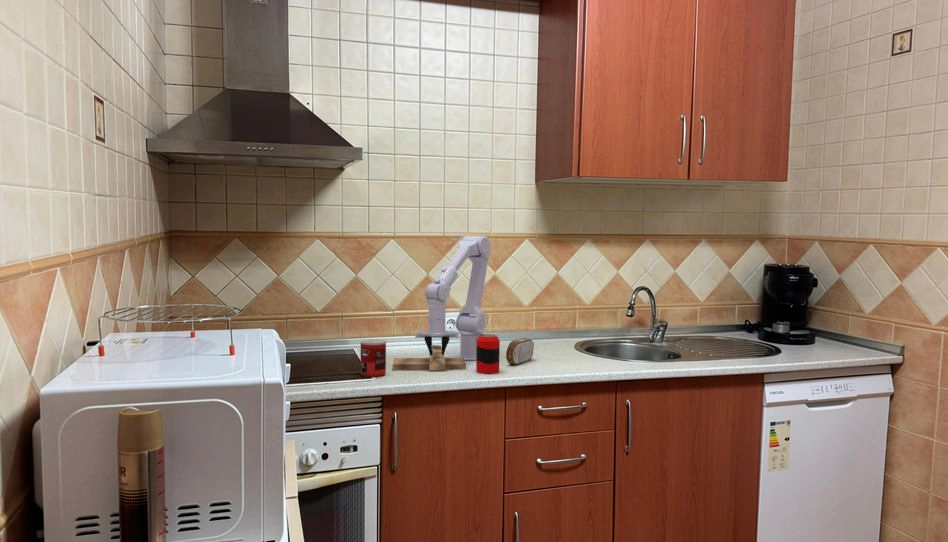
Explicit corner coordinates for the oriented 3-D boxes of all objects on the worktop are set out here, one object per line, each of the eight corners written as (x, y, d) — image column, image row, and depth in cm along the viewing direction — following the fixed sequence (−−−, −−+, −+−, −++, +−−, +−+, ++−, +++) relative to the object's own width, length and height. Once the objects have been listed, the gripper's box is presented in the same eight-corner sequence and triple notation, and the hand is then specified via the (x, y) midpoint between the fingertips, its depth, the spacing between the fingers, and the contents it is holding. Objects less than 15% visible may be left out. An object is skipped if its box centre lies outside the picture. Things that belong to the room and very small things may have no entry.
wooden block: (443, 362, 222) (443, 345, 222) (444, 370, 211) (445, 351, 211) (429, 362, 222) (429, 345, 222) (429, 370, 211) (429, 351, 210)
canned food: (361, 372, 208) (361, 338, 208) (386, 372, 209) (386, 338, 208) (359, 378, 201) (359, 343, 200) (385, 377, 201) (385, 343, 201)
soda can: (480, 368, 216) (480, 332, 215) (501, 370, 214) (502, 334, 213) (473, 373, 209) (473, 336, 208) (495, 375, 206) (496, 338, 206)
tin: (527, 358, 232) (527, 335, 232) (535, 360, 231) (535, 336, 230) (505, 366, 220) (505, 341, 219) (512, 367, 218) (513, 342, 218)
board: (463, 363, 224) (463, 357, 223) (465, 369, 214) (465, 363, 213) (393, 363, 221) (393, 358, 221) (392, 370, 211) (392, 364, 211)
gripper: (415, 320, 212) (415, 361, 213) (459, 320, 213) (458, 361, 214) (415, 317, 219) (415, 357, 220) (457, 317, 220) (457, 356, 221)
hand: (436, 358), depth 218 cm, fingers closed on wooden block, 3 cm apart
